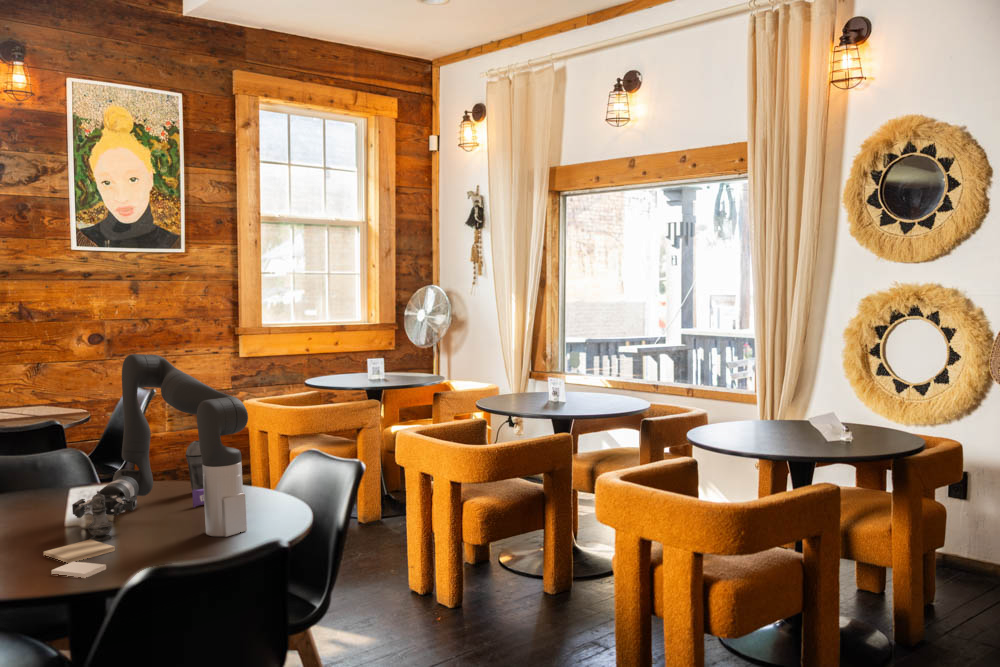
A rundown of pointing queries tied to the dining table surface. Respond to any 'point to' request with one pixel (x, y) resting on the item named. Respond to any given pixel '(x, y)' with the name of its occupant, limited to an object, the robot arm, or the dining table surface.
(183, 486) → the dining table surface
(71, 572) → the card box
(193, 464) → the beverage cup
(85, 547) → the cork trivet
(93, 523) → the salt shaker
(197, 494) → the snack package
